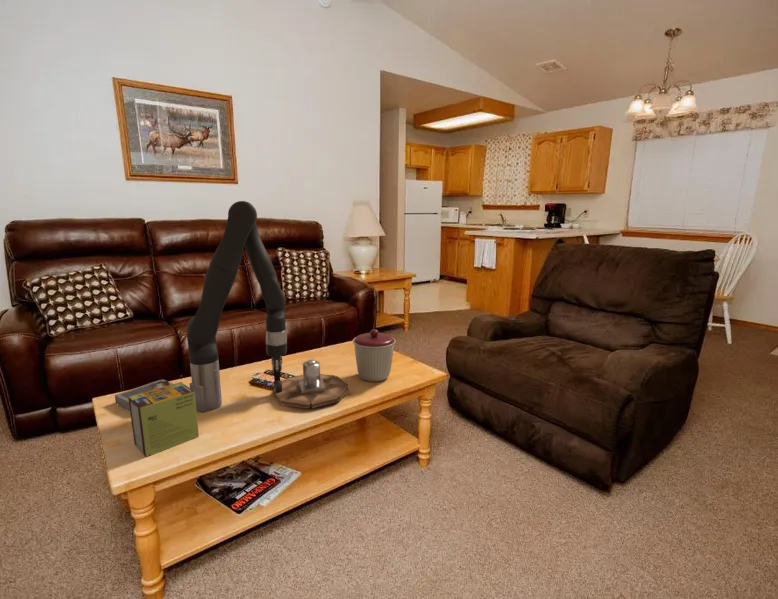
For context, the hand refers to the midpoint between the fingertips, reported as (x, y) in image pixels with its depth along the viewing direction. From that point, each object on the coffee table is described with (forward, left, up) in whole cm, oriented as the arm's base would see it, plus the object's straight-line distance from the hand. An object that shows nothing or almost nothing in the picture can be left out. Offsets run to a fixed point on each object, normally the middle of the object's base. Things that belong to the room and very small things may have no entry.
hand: (277, 384), depth 159 cm
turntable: (+7, -10, -3) cm, 13 cm away
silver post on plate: (+7, -11, -1) cm, 13 cm away
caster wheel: (-31, +31, -4) cm, 44 cm away
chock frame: (-30, +35, -4) cm, 46 cm away
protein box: (-42, +4, -4) cm, 42 cm away
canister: (+34, -21, -4) cm, 41 cm away
